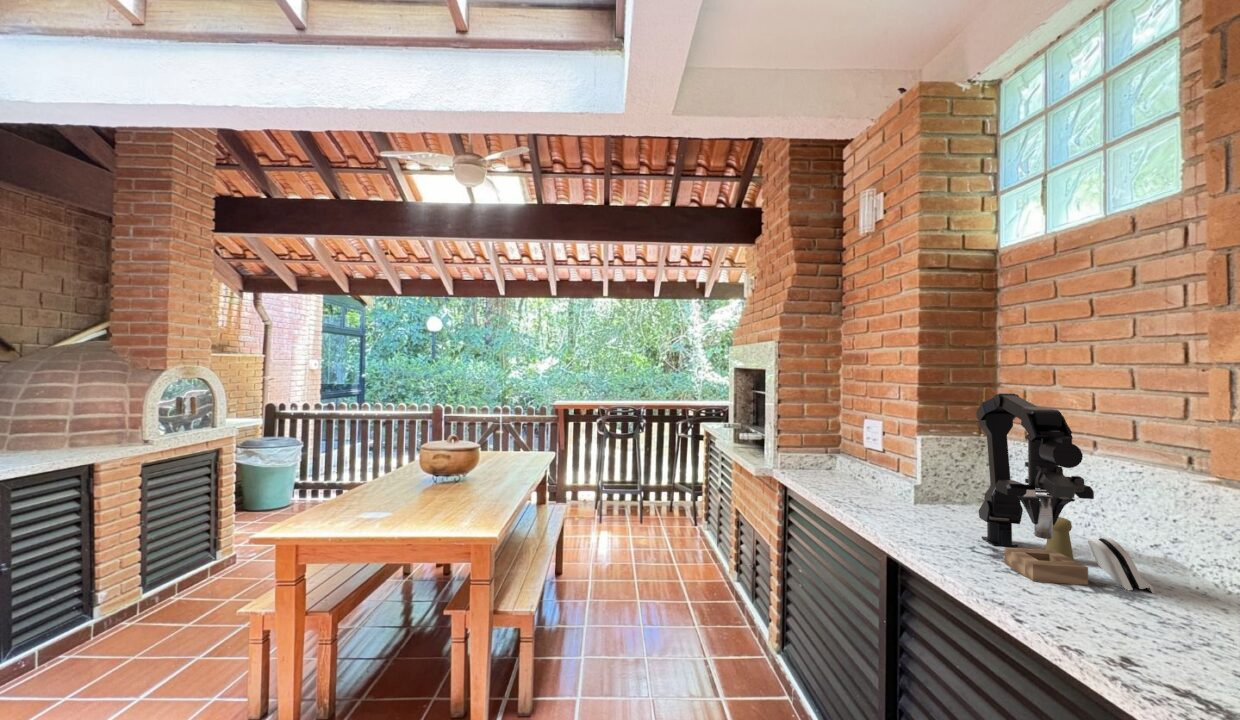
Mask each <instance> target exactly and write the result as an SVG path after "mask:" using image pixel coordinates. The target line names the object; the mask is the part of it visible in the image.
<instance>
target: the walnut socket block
mask: <svg viewBox="0 0 1240 720" xmlns="http://www.w3.org/2000/svg"><path fill="white" fill-rule="evenodd" d="M1003 549H1004V550H1003V551H1004V564H1005V565H1006V566H1008V567H1010V568H1011V569H1013V570H1014V571H1016V572H1018V574H1021V575H1023V576H1024V577H1025V578H1027V579H1028V580H1030V581H1032V582H1035V581H1036V582H1039V583H1055V584H1056V583H1057V584H1071V585H1083V586H1084V585H1086V586H1087V585H1089V567H1088V566H1086V565H1084V564H1082V563H1080V562H1078V561H1077V560H1075V559H1074V560H1072V559H1070V558H1069V557H1067V556H1065V555H1063V554H1061V553H1059V552H1057V551H1055V550H1045V549H1036V548H1035V549H1034V548H1020V547H1019V548H1017V547H1016V548H1015V547H1004V548H1003Z"/></svg>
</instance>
